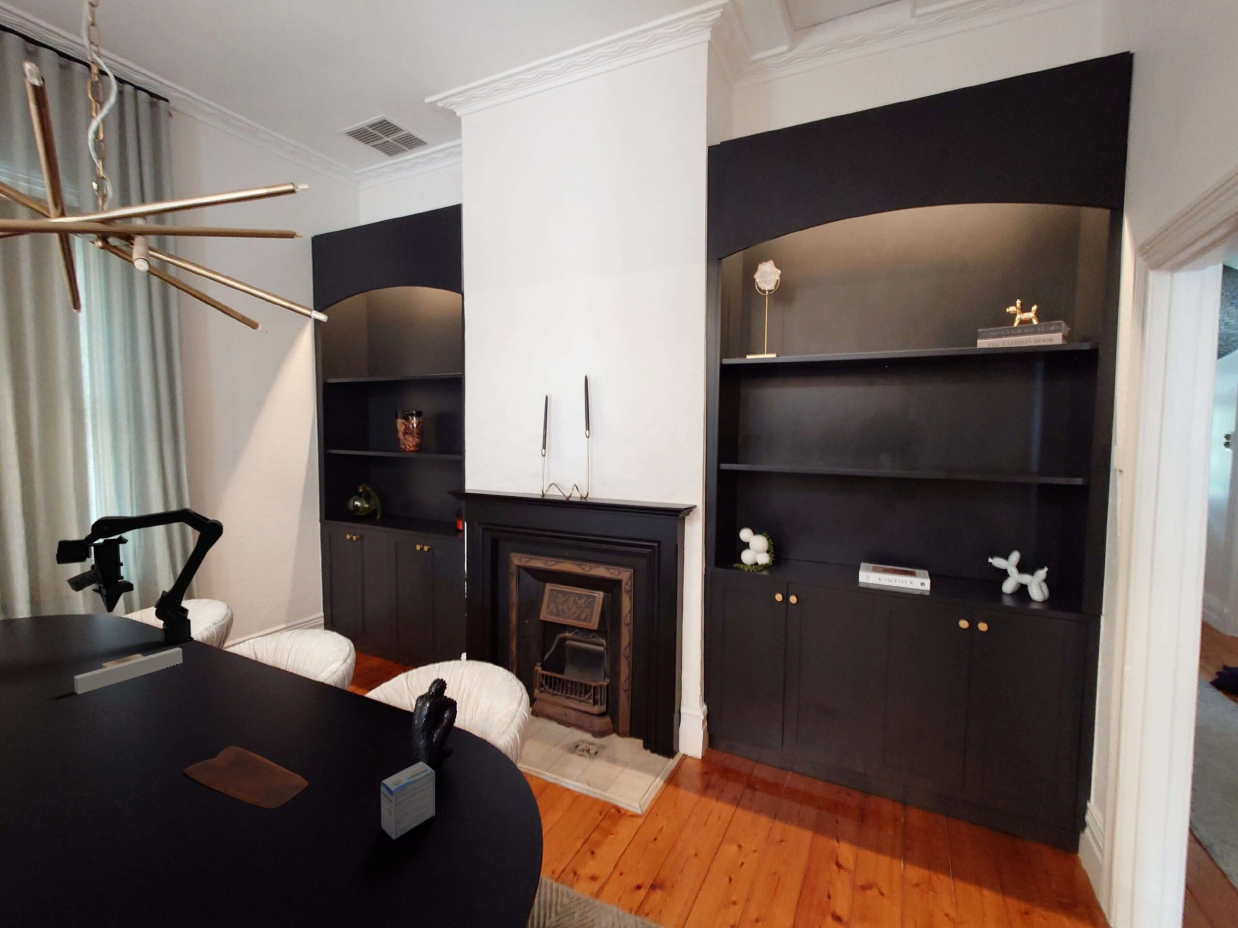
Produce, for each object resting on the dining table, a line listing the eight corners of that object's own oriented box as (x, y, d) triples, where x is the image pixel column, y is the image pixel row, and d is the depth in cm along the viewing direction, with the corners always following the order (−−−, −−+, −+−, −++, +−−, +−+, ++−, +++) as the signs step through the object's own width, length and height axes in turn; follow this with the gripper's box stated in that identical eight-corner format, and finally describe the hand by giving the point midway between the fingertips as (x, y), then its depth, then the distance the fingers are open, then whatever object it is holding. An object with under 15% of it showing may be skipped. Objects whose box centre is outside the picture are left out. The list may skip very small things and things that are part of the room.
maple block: (139, 665, 158) (139, 653, 157) (148, 670, 154) (147, 658, 154) (102, 676, 151) (101, 663, 150) (111, 682, 148) (110, 669, 147)
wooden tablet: (179, 776, 110) (178, 768, 110) (232, 749, 119) (232, 742, 119) (266, 818, 99) (266, 809, 99) (317, 785, 108) (317, 777, 108)
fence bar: (178, 660, 160) (178, 647, 160) (182, 662, 159) (181, 649, 159) (75, 691, 142) (74, 676, 141) (78, 694, 140) (77, 678, 140)
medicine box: (422, 804, 103) (421, 759, 102) (435, 815, 100) (435, 769, 99) (380, 828, 97) (379, 780, 96) (394, 841, 94) (393, 791, 93)
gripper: (59, 560, 162) (62, 613, 163) (81, 570, 152) (84, 626, 153) (109, 553, 171) (111, 603, 172) (133, 562, 161) (135, 615, 162)
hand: (109, 612), depth 165 cm, fingers closed
